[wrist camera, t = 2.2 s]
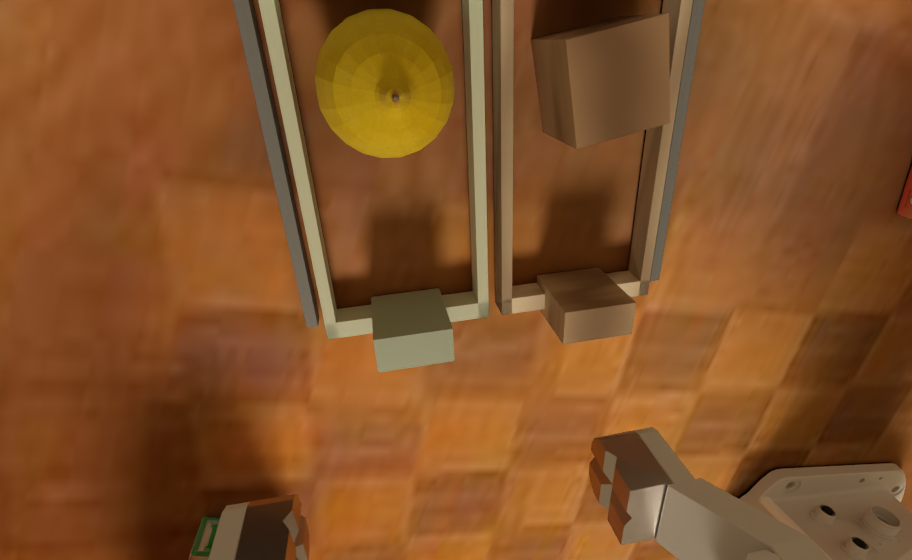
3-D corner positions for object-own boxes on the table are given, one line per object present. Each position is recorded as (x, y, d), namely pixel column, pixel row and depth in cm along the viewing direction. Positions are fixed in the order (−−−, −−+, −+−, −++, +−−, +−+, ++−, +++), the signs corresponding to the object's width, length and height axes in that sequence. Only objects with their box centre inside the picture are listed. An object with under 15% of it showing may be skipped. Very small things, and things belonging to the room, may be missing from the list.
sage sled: (474, -37, 21) (500, -54, 17) (482, 311, 30) (502, 353, 26) (258, -30, 20) (234, -46, 16) (330, 332, 28) (326, 380, 24)
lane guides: (705, -86, 22) (720, -91, 21) (650, 272, 31) (658, 279, 30) (221, -75, 19) (214, -80, 18) (308, 318, 28) (306, 327, 27)
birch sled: (680, -44, 23) (748, -61, 19) (633, 290, 31) (674, 327, 27) (491, -38, 21) (522, -54, 18) (495, 309, 30) (516, 351, 26)
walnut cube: (617, 17, 24) (669, 12, 20) (621, 110, 26) (669, 123, 22) (530, 39, 24) (565, 40, 20) (542, 131, 26) (576, 149, 22)
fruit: (312, 14, 21) (291, 3, 14) (436, 11, 22) (474, 0, 15) (330, 142, 24) (320, 187, 17) (441, 135, 25) (475, 175, 18)
